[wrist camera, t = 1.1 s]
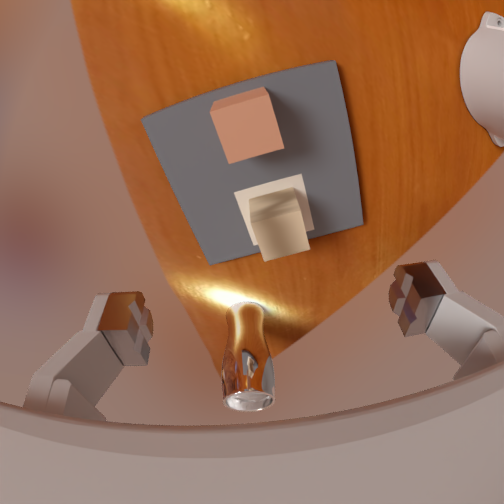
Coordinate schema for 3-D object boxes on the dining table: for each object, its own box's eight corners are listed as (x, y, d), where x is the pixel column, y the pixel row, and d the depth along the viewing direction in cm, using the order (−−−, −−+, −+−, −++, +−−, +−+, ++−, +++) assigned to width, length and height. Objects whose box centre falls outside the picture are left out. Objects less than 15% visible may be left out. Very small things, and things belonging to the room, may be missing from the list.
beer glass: (236, 333, 51) (238, 416, 39) (214, 308, 47) (210, 398, 35) (275, 319, 49) (285, 405, 37) (255, 293, 45) (262, 385, 33)
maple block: (292, 187, 34) (300, 210, 30) (301, 223, 37) (310, 249, 33) (248, 199, 34) (250, 223, 30) (261, 234, 37) (264, 261, 33)
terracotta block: (263, 86, 27) (268, 94, 23) (277, 132, 30) (284, 148, 26) (213, 101, 27) (209, 112, 24) (230, 146, 30) (228, 164, 27)
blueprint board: (332, 60, 26) (335, 60, 25) (360, 219, 38) (363, 224, 37) (143, 116, 29) (140, 119, 28) (210, 259, 41) (209, 265, 40)
